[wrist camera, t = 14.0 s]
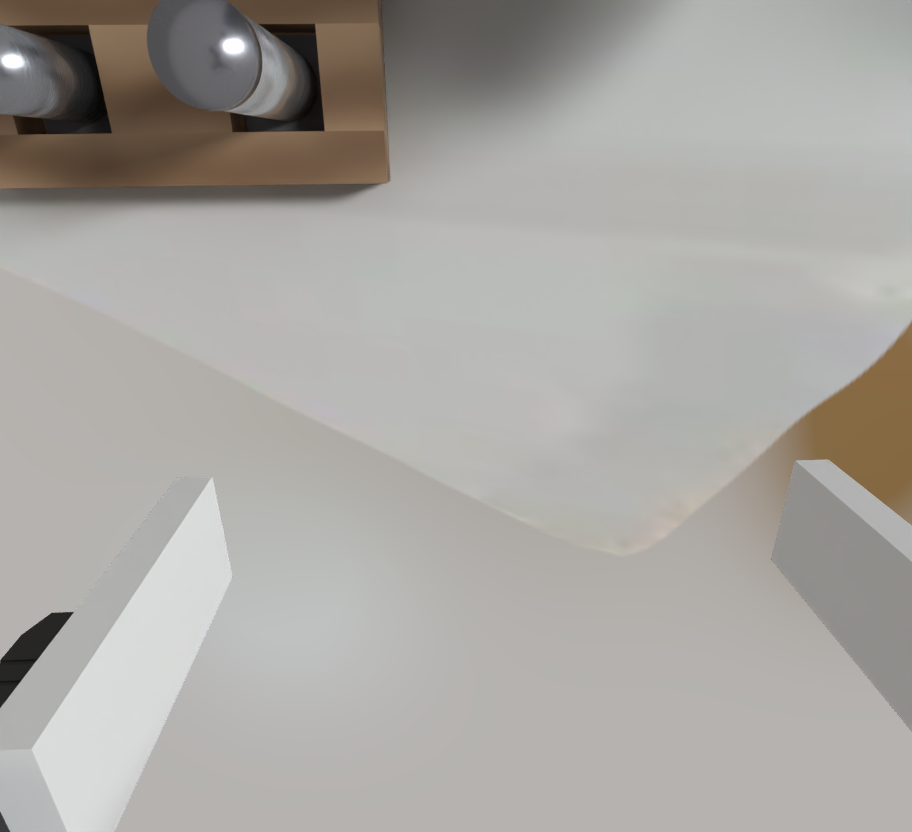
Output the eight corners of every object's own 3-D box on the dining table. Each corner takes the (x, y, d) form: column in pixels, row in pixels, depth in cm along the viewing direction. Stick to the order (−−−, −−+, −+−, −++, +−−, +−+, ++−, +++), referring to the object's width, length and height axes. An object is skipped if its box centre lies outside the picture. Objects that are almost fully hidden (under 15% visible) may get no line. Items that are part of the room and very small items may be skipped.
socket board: (-52, -23, 31) (-99, -40, 28) (379, -25, 32) (374, -41, 29) (9, 185, 35) (-27, 188, 32) (390, 180, 36) (386, 183, 33)
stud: (244, 45, 32) (136, -13, 20) (314, 44, 32) (246, -13, 21) (254, 122, 34) (159, 110, 22) (321, 121, 34) (262, 109, 22)
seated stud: (35, 45, 32) (-81, 12, 25) (105, 48, 32) (11, 16, 25) (51, 121, 33) (-54, 111, 26) (118, 123, 34) (33, 114, 26)
